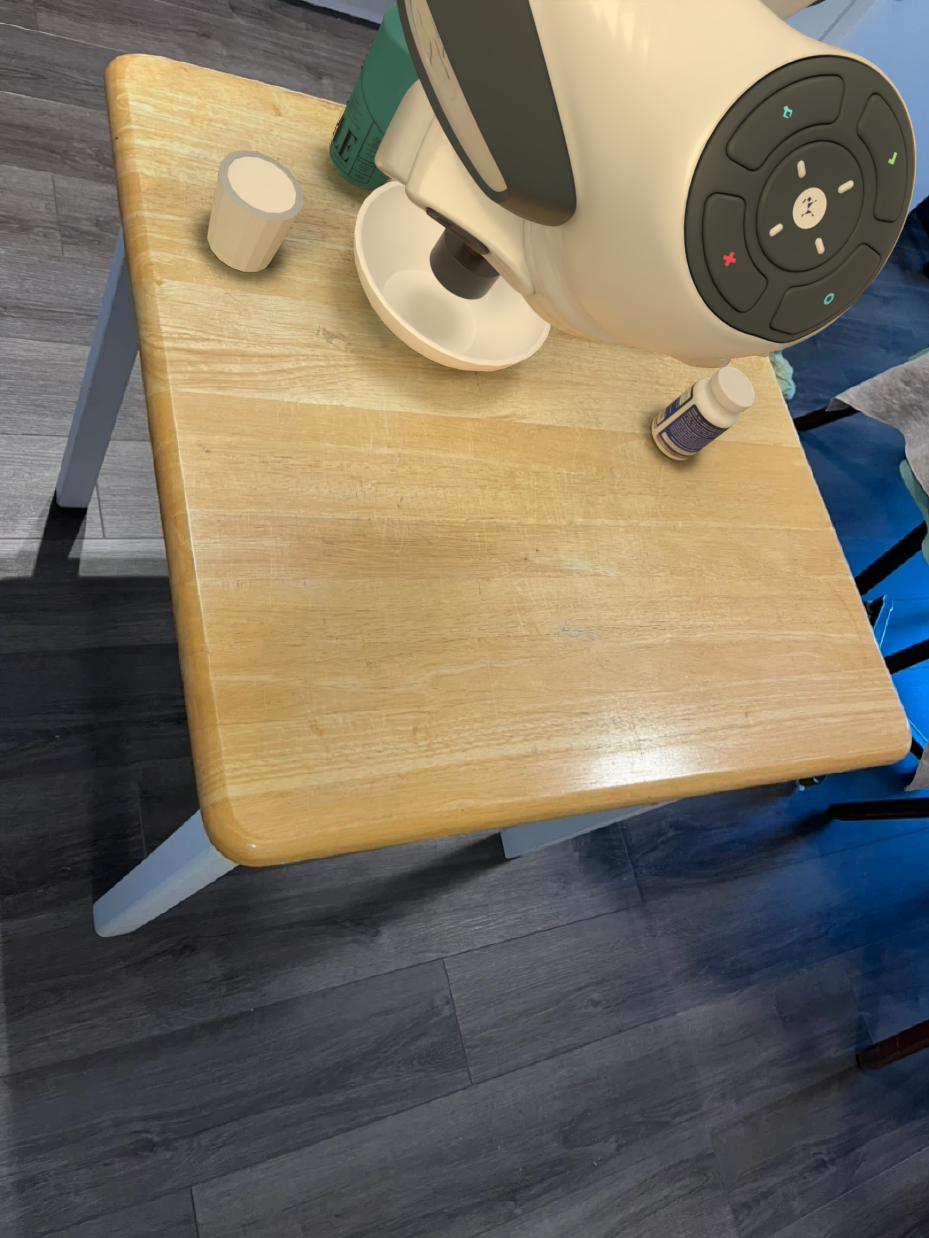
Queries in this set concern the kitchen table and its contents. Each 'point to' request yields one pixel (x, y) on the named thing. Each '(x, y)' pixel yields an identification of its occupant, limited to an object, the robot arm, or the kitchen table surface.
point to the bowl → (436, 292)
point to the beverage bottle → (373, 104)
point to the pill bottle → (702, 413)
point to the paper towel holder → (461, 268)
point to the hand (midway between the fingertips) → (533, 244)
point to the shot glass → (252, 209)
